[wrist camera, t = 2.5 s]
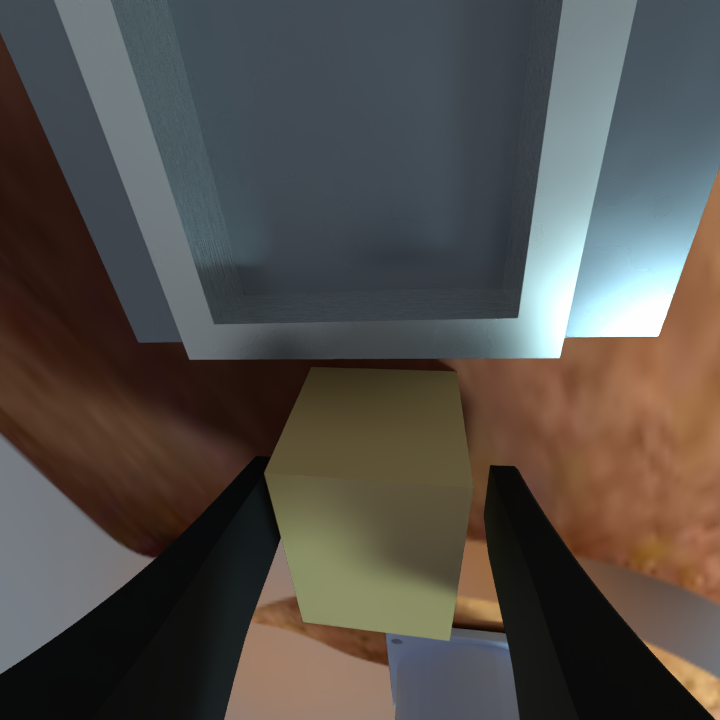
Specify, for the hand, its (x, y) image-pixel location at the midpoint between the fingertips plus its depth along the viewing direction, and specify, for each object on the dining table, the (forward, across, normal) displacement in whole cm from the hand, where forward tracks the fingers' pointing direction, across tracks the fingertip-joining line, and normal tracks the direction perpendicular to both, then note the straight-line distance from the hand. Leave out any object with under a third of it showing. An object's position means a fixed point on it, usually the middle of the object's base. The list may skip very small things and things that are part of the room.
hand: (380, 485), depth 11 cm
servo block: (+2, 0, 0) cm, 2 cm away
